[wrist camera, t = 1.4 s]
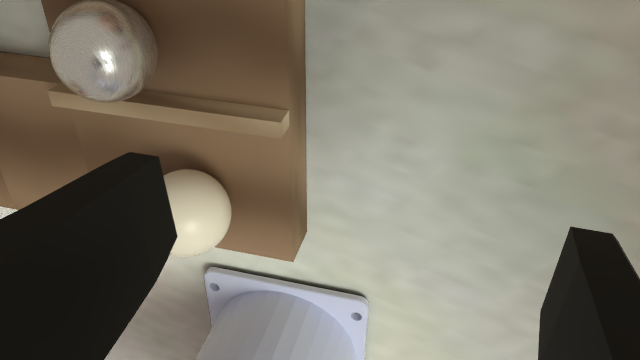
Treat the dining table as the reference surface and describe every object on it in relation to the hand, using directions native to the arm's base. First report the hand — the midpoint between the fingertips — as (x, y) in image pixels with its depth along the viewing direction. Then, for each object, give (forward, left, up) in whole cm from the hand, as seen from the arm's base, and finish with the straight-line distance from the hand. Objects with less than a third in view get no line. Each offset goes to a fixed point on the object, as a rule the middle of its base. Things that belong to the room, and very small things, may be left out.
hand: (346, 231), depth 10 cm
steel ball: (0, +9, -7) cm, 12 cm away
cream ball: (-6, +7, -7) cm, 12 cm away
